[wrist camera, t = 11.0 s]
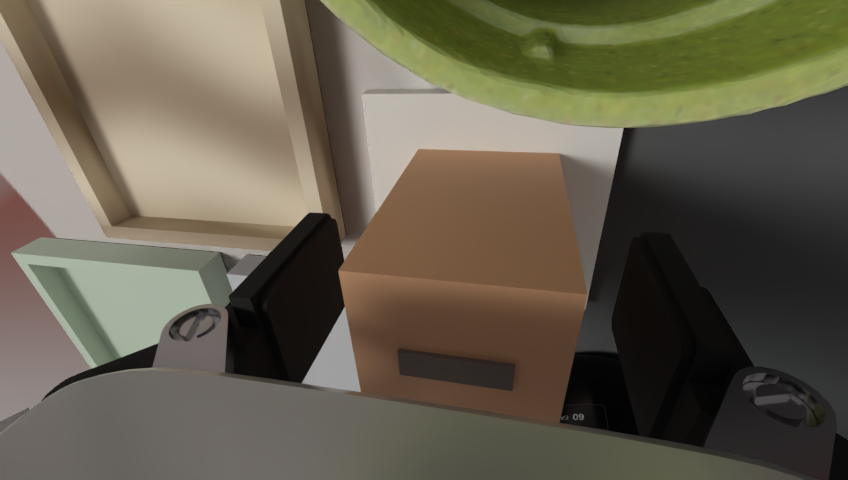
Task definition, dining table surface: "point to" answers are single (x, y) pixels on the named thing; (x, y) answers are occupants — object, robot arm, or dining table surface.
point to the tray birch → (181, 113)
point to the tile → (492, 149)
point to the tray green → (120, 290)
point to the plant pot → (614, 54)
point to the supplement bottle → (598, 396)
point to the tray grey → (335, 354)
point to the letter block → (469, 285)
